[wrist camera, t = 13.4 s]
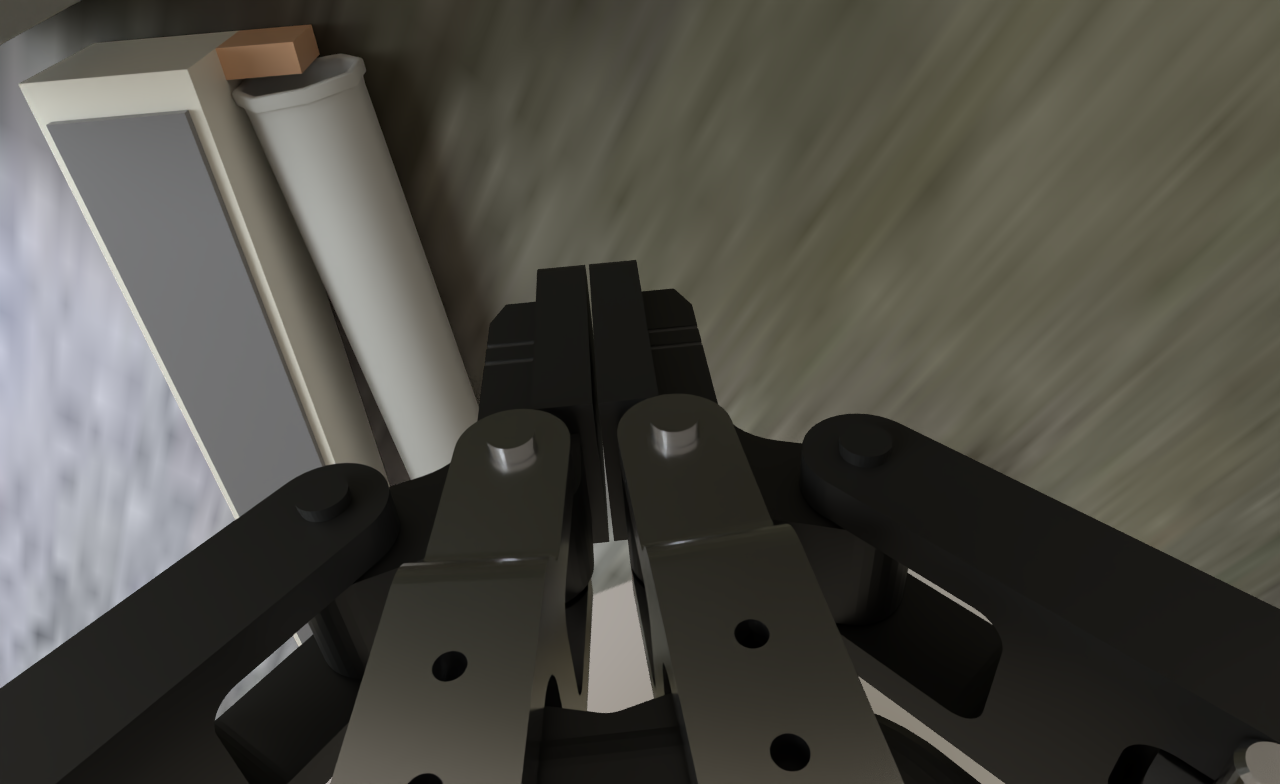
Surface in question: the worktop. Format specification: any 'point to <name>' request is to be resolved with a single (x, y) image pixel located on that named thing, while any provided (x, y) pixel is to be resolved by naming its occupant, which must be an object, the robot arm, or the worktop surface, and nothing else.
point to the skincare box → (27, 15)
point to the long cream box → (209, 248)
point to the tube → (365, 250)
